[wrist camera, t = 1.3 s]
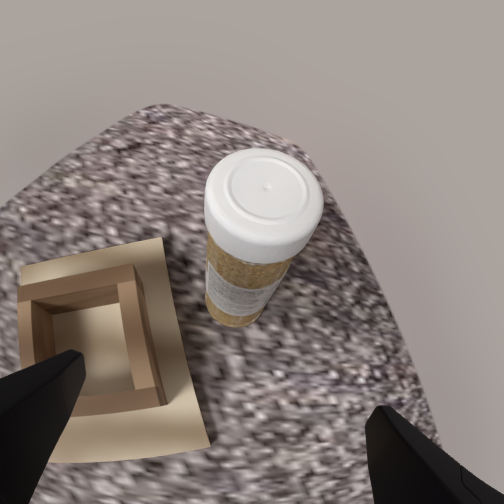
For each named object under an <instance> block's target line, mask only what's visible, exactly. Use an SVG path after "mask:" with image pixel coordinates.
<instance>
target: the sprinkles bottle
mask: <svg viewBox="0 0 504 504" xmlns="http://www.w3.org/2000/svg"><path fill="white" fill-rule="evenodd" d="M323 206H324V199H323V193H322V190H321V187H320V185H319V183H318V181H317V179H316V178H315V176H314V175H313V173H312V172H311V171H310V170H309V169H308V168H307V167H306V166H305V165H304V164H302V163H301V162H300V161H298V160H297V159H295V158H293V157H292V156H290V155H287V154H285V153H282V152H279V151H276V150H271V149H264V148H253V149H245V150H241V151H238V152H235V153H232V154H230V155H228V156H227V157H225V158H224V159H222V160H221V161H220V162H219V163H218V164H217V165H216V166H215V167H214V168H213V170H212V171H211V173H210V175H209V177H208V179H207V183H206V189H205V205H204V214H205V223H206V226H207V229H208V242H207V260H206V293H205V302H206V306H207V308H208V310H209V312H210V314H211V316H212V317H213V318H214V319H215V320H217V321H218V322H219V323H221V324H223V325H225V326H229V327H234V328H236V327H243V326H247V325H249V324H251V323H253V322H254V321H255V320H257V318H258V317H259V316H260V315H261V313H262V311H263V309H264V307H265V305H266V304H267V302H268V301H269V299H270V298H271V296H272V295H273V293H274V291H275V290H276V288H277V287H278V285H279V283H280V282H281V280H282V278H283V277H284V275H285V274H286V272H287V270H288V268H289V266H290V263H291V261H292V259H293V258H294V256H295V255H296V254H297V253H298V252H300V251H301V250H302V249H303V248H304V247H305V246H306V244H307V243H308V241H309V239H310V238H311V236H312V234H313V233H314V231H315V229H316V227H317V225H318V223H319V221H320V219H321V216H322V213H323Z"/></svg>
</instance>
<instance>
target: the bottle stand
mask: <svg viewBox="0 0 504 504" xmlns="http://www.w3.org/2000/svg"><path fill="white" fill-rule="evenodd" d="M18 334H19V348H20V359H21V368H22V369H24V368H27V367H29V366H31V365H34V364H36V363H38V362H41V361H43V360H45V359H48V358H50V357H52V356H55V355H57V354H59V353H62V352H64V351H66V350H69V349H74V350H77V351H79V352H82V353H83V355H84V360H85V368H86V379H85V381H84V384H83V386H82V389H81V391H80V394H79V396H78V399H77V401H76V404H75V406H74V409H73V412H72V414H71V417H70V419H69V421H68V423H67V425H66V427H65V429H64V431H63V433H62V434H61V436H60V438H59V440H58V442H57V444H56V446H55V448H54V450H53V452H52V454H51V456H50V458H49V460H48V462H55V463H81V462H105V461H119V460H130V459H139V458H148V457H155V456H162V455H169V454H175V453H181V452H186V451H192V450H197V449H202V448H207V447H211V444H210V441H209V438H208V435H207V432H206V428H205V425H204V422H203V418H202V415H201V411H200V408H199V404H198V401H197V397H196V394H195V390H194V386H193V382H192V379H191V375H190V371H189V367H188V363H187V359H186V355H185V351H184V346H183V342H182V338H181V333H180V329H179V324H178V320H177V315H176V311H175V306H174V301H173V296H172V291H171V286H170V280H169V275H168V270H167V264H166V258H165V253H164V247H163V241H162V237H159V238H154V239H149V240H143V241H138V242H133V243H128V244H123V245H118V246H114V247H109V248H104V249H99V250H94V251H90V252H85V253H80V254H76V255H71V256H66V257H62V258H57V259H53V260H48V261H44V262H39V263H35V264H31V265H26V266H22V267H21V285H20V286H18Z"/></svg>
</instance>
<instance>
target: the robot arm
mask: <svg viewBox="0 0 504 504" xmlns="http://www.w3.org/2000/svg"><path fill="white" fill-rule="evenodd" d="M85 379H86V368H85V360H84V355H83V353H82V352H79V351H77V350H74V349H69V350H66V351H64V352H62V353H59V354H57V355H55V356H52V357H50V358H48V359H45V360H43V361H41V362H38V363H36V364H34V365H31V366H29V367H27V368H24V369H22V370H20V371H17V372H15V373H12V374H10V375H8V376H5V377H3V378H1V379H0V504H29V502H30V500H31V497H32V495H33V493H34V491H35V488H36V486H37V484H38V482H39V479H40V477H41V475H42V473H43V471H44V469H45V467H46V465H47V463H48V460H49V458H50V456H51V454H52V452H53V450H54V448H55V446H56V444H57V442H58V440H59V438H60V436H61V434H62V433H63V431H64V429H65V427H66V425H67V423H68V421H69V419H70V417H71V414H72V412H73V409H74V406H75V404H76V401H77V399H78V396H79V394H80V391H81V389H82V386H83V384H84V381H85ZM365 434H366V446H367V460H368V469H369V475H370V481H371V486H372V492H373V498H374V504H504V494H502V493H500V492H499V491H497V490H495V489H494V488H492V487H491V486H489V485H488V484H486V483H485V482H483V481H482V480H480V479H479V478H477V477H476V476H475V475H473V474H472V473H471V472H469V471H468V470H467V469H466V468H464V467H463V466H462V465H460V464H459V463H458V462H457V461H455V460H454V459H453V458H452V457H450V455H448V454H447V453H446V452H445V451H443V450H442V449H441V448H440V447H439V446H437V445H436V444H435V443H434V442H432V441H431V440H430V439H429V438H428V437H426V436H425V435H424V434H423V433H422V432H420V431H419V430H418V429H417V428H416V427H414V426H413V425H412V424H411V423H410V422H408V421H407V420H406V419H405V418H404V417H402V416H401V415H400V414H399V413H398V412H396V411H395V410H394V409H393V408H392V407H390V406H388V405H379V406H377V407H376V408H375V409H374V411H373V413H372V414H371V416H370V417H369V419H368V420H367V422H366V425H365Z"/></svg>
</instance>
